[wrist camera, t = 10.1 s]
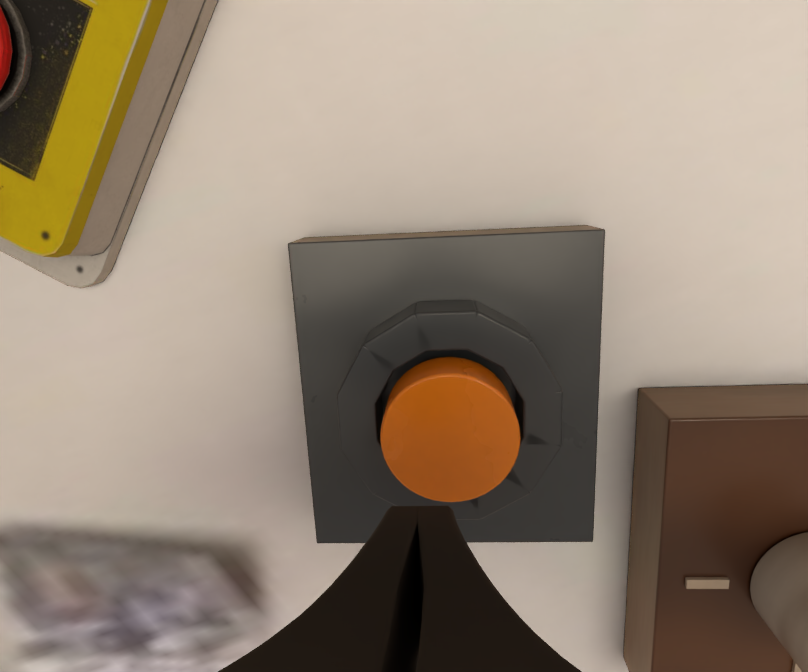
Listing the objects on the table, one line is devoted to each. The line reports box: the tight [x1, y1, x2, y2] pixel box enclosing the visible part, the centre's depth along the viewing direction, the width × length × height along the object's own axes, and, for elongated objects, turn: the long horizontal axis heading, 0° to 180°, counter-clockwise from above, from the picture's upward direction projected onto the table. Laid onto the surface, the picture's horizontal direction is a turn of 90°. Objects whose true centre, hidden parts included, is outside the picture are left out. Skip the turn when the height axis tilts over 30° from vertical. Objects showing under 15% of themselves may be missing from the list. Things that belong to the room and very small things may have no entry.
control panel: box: [624, 384, 808, 672], centre depth 21 cm, size 12×10×3 cm
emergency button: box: [0, 0, 218, 288], centre depth 17 cm, size 9×4×15 cm
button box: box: [288, 225, 605, 543], centre depth 20 cm, size 11×10×4 cm
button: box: [380, 357, 520, 502], centre depth 17 cm, size 4×4×2 cm
